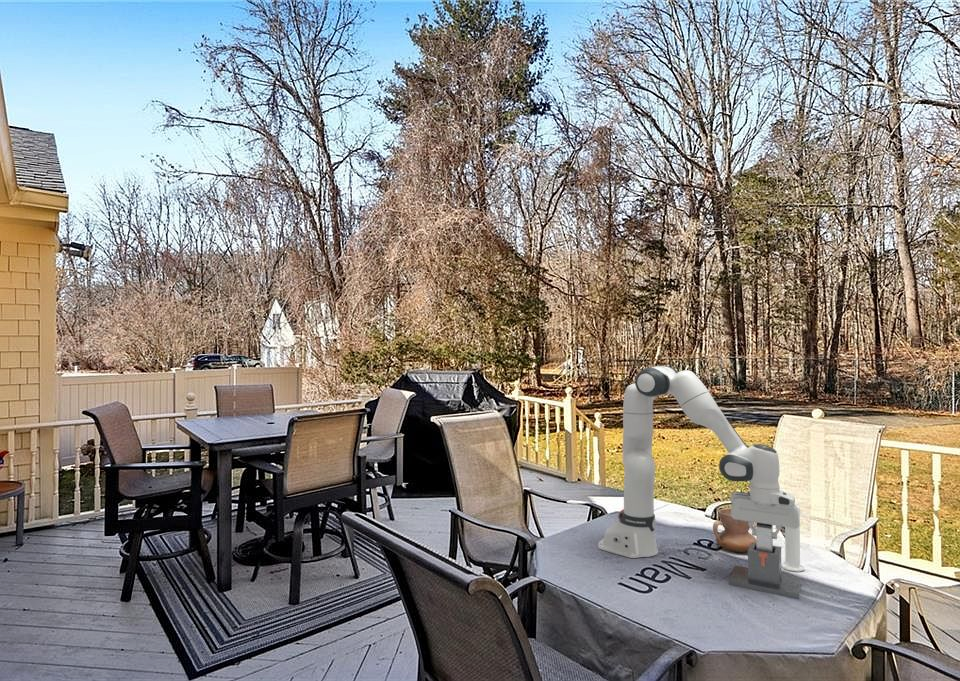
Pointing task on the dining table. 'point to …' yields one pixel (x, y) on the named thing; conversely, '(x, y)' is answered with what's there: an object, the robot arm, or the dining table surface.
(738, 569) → the stand housing
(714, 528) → the ceramic jug
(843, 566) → the dining table surface
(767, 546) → the column
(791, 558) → the candle
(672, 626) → the dining table surface
